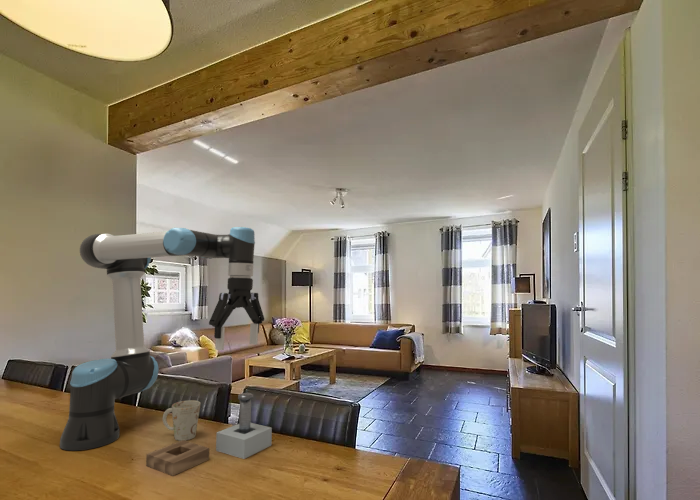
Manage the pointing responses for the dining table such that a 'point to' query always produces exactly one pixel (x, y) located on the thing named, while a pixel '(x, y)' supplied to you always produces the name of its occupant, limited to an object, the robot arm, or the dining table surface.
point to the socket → (243, 440)
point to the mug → (183, 419)
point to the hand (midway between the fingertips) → (237, 346)
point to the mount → (177, 457)
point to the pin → (245, 412)
